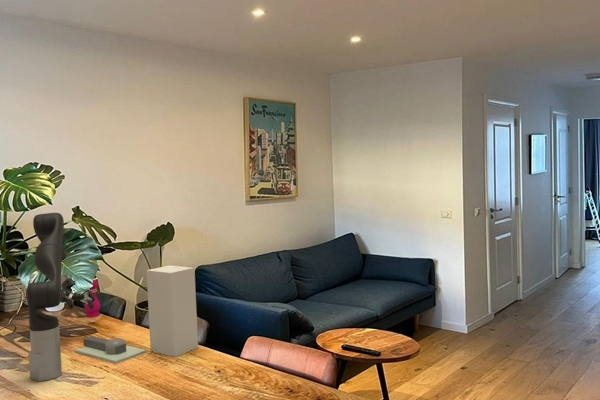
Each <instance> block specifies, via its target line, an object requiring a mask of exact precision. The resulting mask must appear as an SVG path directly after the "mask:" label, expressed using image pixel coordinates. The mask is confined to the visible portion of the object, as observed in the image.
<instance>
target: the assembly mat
mask: <svg viewBox="0 0 600 400" xmlns="http://www.w3.org/2000/svg"><path fill="white" fill-rule="evenodd" d="M74 352H75V354H80V355H83V356H87V357H90V358H93V359H97V360H100V361H104V362H108V363H111V364H115V365H116V364H119V363H121V362H125V361H127V360H131V359H133V358H136V357H138V356H142V355H143V354H147V349H143V348H138V347H135V346H131V345H127V344H126V352H124V353H121V354H118V355H117V354H106V351H102V350H98V349H94V348H90V347H86V346H83V347H80V348H76V349H75V350H74Z"/></svg>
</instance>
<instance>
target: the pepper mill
mask: <svg viewBox="0 0 600 400" xmlns="http://www.w3.org/2000/svg"><path fill="white" fill-rule="evenodd" d="M97 287H98V281H97V280H96V279H94V281H93V287H92V288H91V289H90V290H89V291H91V292H92V294H93V295H94V297H95V298H96V299H95V301H94V303H93V304H94V307H93V308H92V309H89V307H88V305H87V303H84V310H85V311H86V312H85V316H86V317H87V318H96V317H98V315H99V316H100V311H99V310H100V309H101V304H100V301H99V300H98V297H97V292H98V288H97ZM87 292H88V291H87ZM86 300H87V301H88V299H86ZM95 316H96V317H95Z"/></svg>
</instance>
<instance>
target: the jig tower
mask: <svg viewBox="0 0 600 400" xmlns="http://www.w3.org/2000/svg"><path fill="white" fill-rule="evenodd" d="M195 271H196V270H195V267H191V266H190V267H189V266H182V265H180V266H177V265H173V264H172V265H165V266H161V267H160V266H159V267H156V268H151V269H146V286H147V287H146V291H147V303H148V305H147V306H148V308H147V309H148V322H149V323H148V324H149V325H148V326H149V343H150V345H149V346H150V352H152V351H153V353H156V352H157V354H160V353H161V355H164V354H165V355H164V356H168V357H173V358H177V357H178V356H182V355H184V354H187V353H189V352H191V350H192V351H194V350H196V349H199V338H198V337H199V335H198V319H197V318H198V315H197V298H196V297H197V296H196V292H197V291H196V278H195V277H196V274H195V273H196V272H195ZM186 352H187V353H186ZM181 354H182V355H181Z"/></svg>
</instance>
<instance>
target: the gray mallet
mask: <svg viewBox="0 0 600 400" xmlns="http://www.w3.org/2000/svg"><path fill="white" fill-rule="evenodd" d="M82 342H83V347H90V348H94V349H98V350H102V351H106V354H117V355H118V354H121V353H124V352H126V345H127V343H125V339H124V338H112V339H106V338H103V337H100V336H99V337H97V336H95V335H91V336H88V337H84V338H83V341H82Z"/></svg>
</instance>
